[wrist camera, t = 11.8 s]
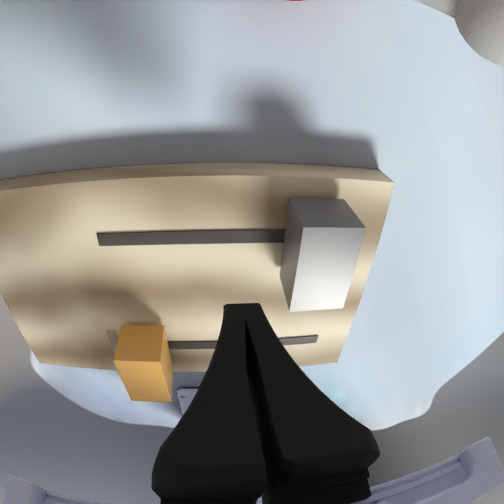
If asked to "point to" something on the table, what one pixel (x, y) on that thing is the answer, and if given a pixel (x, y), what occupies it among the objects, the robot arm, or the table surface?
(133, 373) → the amber fader knob
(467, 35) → the molecular model
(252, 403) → the robot arm
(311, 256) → the charcoal fader knob
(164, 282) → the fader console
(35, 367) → the table surface
